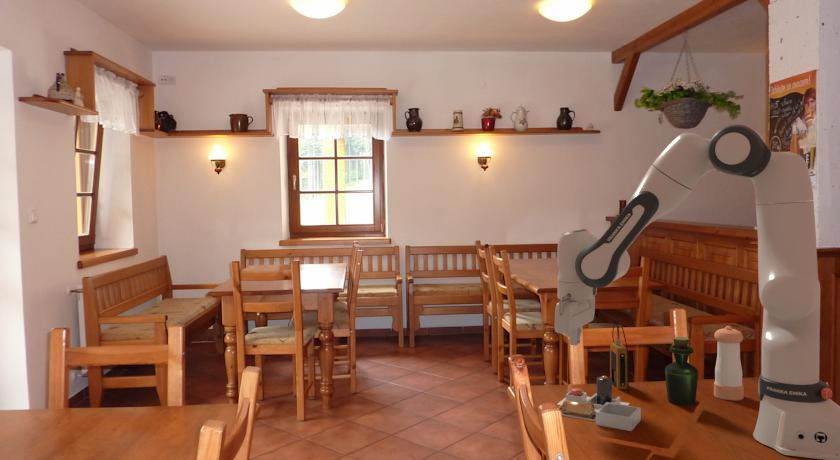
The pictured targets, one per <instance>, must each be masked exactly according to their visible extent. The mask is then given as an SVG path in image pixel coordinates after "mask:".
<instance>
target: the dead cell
mask: <svg viewBox="0 0 840 460" xmlns="http://www.w3.org/2000/svg"><path fill="white" fill-rule="evenodd" d="M596 393H597V404H599V405H604V404H605V403H606V402H608V403H612V399H613V384H612V378H611V377H610V376H609V377H608V376H607V375H602V376H598V377H596Z"/></svg>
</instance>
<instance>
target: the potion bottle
mask: <svg viewBox="0 0 840 460" xmlns="http://www.w3.org/2000/svg"><path fill="white" fill-rule="evenodd" d="M672 338H673V343H674V345H670V347H669V351H668V352H670V353H672V354H673V356H674V360H675V361H673V362H671V363H669V364H667V365H666V366H665V369H664V375H665V376H664V377H665V385H666V386H665V388H666V396H667V402H669V403H670V404H673V405H676V406H684V407H685V406H693V405H696V401H697V400H696V399H697V392H698V391H697V390H698V381H699V380H698V379H699V370H698V369H697V367H696V366H694V365H693V364H691V363H690V362H688V360H689V356H690V354H691V355H692V354H693V353H694V348H693V347H692V346H690V345H689V341H690V338H689V337H686V336H674V337H672Z"/></svg>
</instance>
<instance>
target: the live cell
mask: <svg viewBox="0 0 840 460" xmlns="http://www.w3.org/2000/svg"><path fill="white" fill-rule="evenodd" d="M561 413H562V414H567V415H573V416H579V417H584V418H590V419H592V417H594V415H596V413H595V407H594V405H593V404H588V403H582V402H576V401H570V400H564V402H563V404H562V408H561Z"/></svg>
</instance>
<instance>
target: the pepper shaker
mask: <svg viewBox="0 0 840 460" xmlns="http://www.w3.org/2000/svg"><path fill="white" fill-rule="evenodd" d="M714 339H715V341H717V345H716V346H717V348H716V349H717V351H716V352H717V353H716V354H717V355H716V362H715V366H714V367H715V368H714V379H715V380H714V382H713V395H714V397H715V398H718V399H721V400H725V401H726V400H727V401H742V400H743V399H744V398H745V396H744V395H745V393H744V392H745V391H744V390H745V389H744V384H743V369H742V368H743V367H742V362H741V345H740V344H741V343H742V341H743V339H744V336H743V333H742V332H741V331H740V330H737V329H735V328H732V326H730V325H726V326H725V327H724V328H719V329H717V330H716V331H715V332H714Z"/></svg>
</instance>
